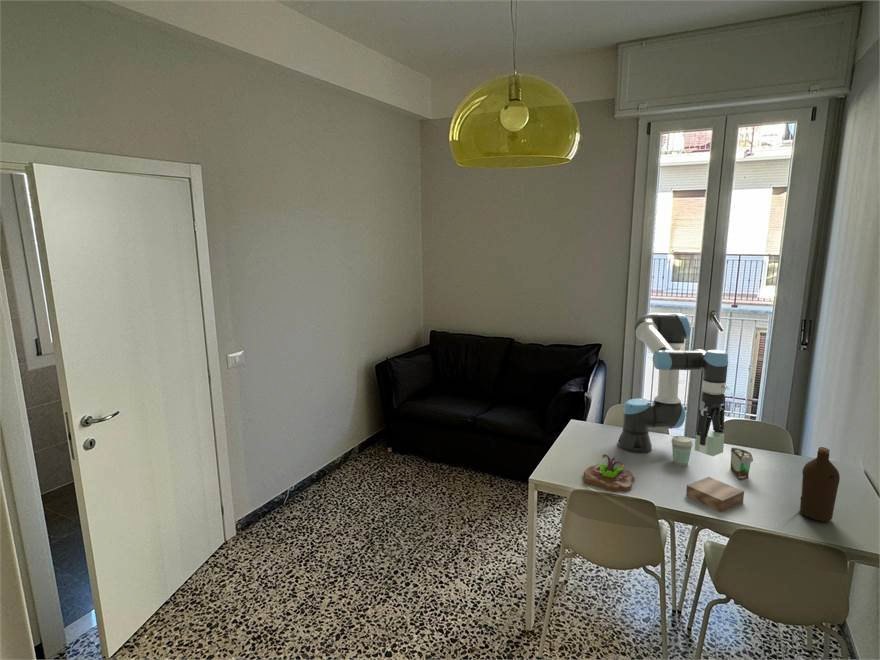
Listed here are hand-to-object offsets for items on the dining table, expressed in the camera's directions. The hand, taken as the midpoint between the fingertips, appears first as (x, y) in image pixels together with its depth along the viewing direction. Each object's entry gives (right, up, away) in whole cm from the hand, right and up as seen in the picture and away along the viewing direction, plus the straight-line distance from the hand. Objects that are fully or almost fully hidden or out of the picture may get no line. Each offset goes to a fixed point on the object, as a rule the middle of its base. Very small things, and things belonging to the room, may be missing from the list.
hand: (708, 450), depth 190 cm
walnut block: (+3, -20, +3) cm, 20 cm away
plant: (-32, -17, +20) cm, 41 cm away
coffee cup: (+5, -14, +33) cm, 37 cm away
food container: (+26, -16, +22) cm, 38 cm away
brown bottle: (+34, -21, -9) cm, 41 cm away
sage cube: (0, 0, 0) cm, 0 cm away
